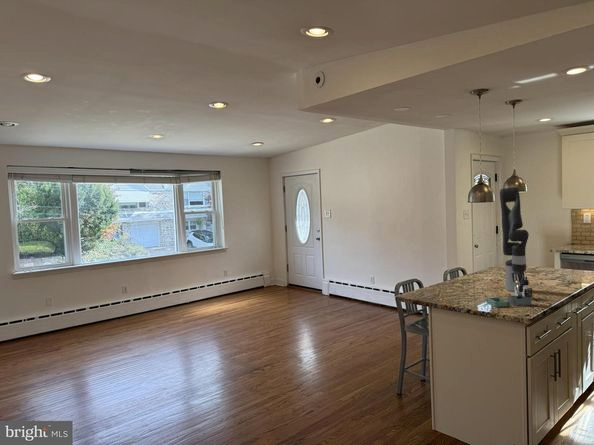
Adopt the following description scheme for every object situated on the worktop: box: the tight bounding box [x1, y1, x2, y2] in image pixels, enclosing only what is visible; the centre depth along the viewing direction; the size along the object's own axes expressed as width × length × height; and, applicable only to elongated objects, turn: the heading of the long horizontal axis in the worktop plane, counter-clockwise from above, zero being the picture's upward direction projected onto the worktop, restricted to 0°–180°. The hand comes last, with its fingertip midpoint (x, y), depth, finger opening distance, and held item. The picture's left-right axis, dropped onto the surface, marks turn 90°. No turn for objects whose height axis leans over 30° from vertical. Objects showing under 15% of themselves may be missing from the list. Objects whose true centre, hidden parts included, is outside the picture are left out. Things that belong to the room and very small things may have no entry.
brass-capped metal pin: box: [515, 281, 522, 298], centre depth 248 cm, size 4×4×11 cm
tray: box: [486, 297, 510, 308], centre depth 248 cm, size 12×8×3 cm, turn 0°
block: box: [507, 295, 532, 307], centre depth 248 cm, size 9×9×4 cm
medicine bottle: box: [514, 279, 533, 300], centre depth 262 cm, size 7×7×12 cm
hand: (519, 291), depth 248 cm, fingers closed on brass-capped metal pin, 3 cm apart
